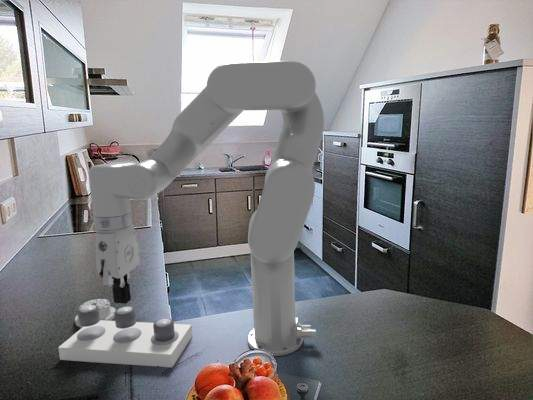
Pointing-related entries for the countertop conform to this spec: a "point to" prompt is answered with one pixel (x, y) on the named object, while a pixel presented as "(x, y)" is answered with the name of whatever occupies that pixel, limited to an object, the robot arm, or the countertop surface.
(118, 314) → the knob middle
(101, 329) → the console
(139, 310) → the countertop surface
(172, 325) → the knob near
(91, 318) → the knob far
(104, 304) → the mechanical component
